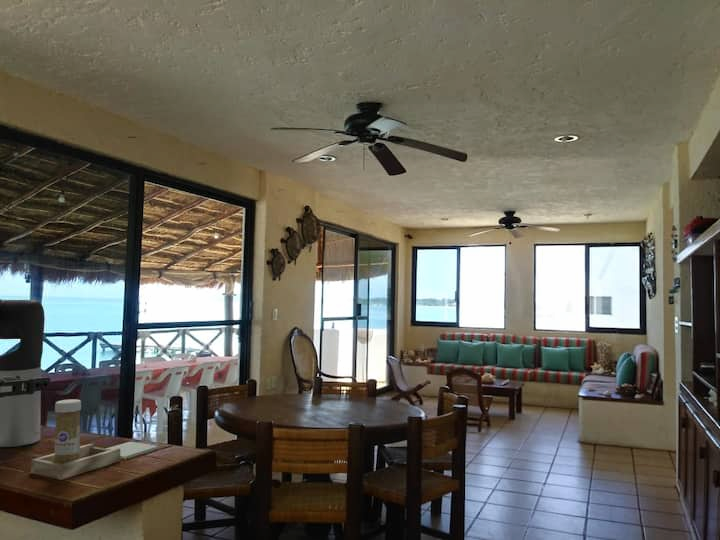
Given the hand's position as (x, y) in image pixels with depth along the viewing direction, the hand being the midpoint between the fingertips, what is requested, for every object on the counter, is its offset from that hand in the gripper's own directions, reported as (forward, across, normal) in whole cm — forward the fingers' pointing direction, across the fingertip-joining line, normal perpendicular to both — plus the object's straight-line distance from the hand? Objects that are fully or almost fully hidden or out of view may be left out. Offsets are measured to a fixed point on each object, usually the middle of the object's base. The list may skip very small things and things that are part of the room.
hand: (33, 382), depth 105 cm
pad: (+23, 0, +17) cm, 28 cm away
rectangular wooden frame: (+11, +1, +18) cm, 21 cm away
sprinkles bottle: (+9, +1, +18) cm, 20 cm away
